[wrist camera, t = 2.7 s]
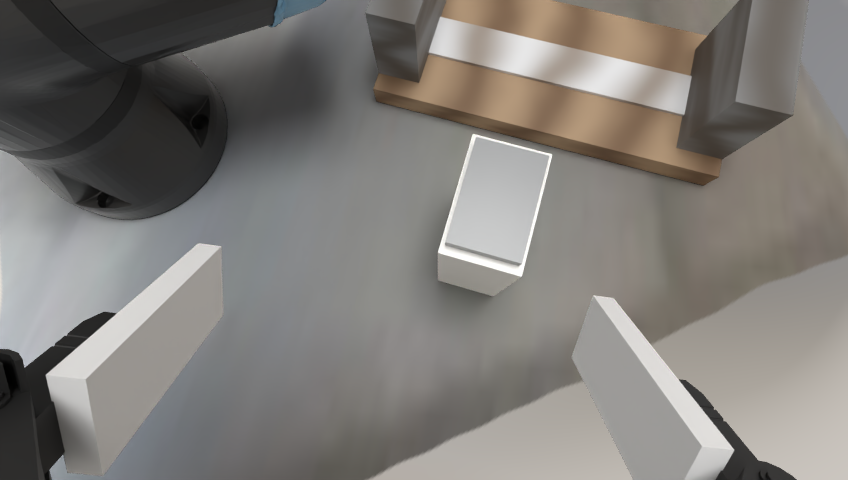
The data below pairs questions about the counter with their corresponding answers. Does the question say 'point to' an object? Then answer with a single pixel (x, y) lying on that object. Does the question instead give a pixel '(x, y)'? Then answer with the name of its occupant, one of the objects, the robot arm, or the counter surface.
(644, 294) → the counter surface
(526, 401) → the counter surface
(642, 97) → the mounting board
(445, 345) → the counter surface
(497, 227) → the block
